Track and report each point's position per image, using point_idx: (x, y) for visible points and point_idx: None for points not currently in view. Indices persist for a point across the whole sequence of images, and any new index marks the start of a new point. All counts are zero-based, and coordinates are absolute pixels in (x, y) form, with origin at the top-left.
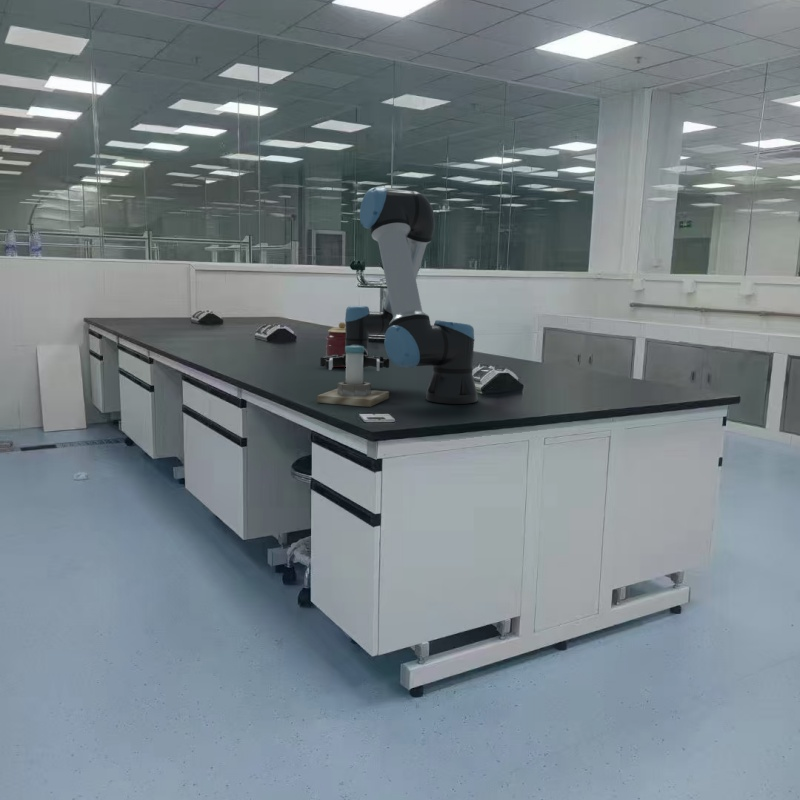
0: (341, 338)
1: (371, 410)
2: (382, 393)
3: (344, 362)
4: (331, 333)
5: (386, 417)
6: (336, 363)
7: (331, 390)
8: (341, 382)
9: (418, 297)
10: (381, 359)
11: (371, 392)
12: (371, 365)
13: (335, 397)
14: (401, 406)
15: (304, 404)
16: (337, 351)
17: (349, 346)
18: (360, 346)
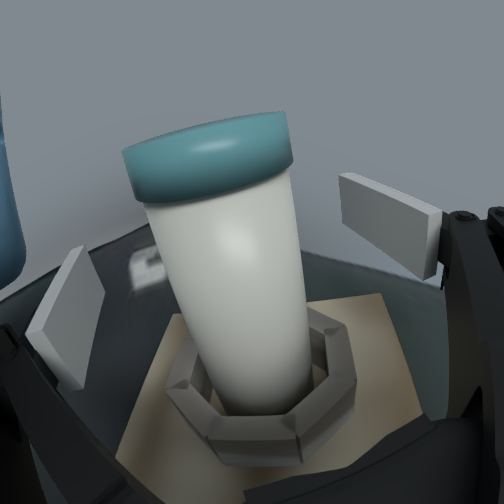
0: None
1: (174, 300)
2: (129, 441)
3: (454, 400)
4: None
5: (142, 267)
6: (451, 306)
7: (419, 405)
8: (338, 347)
9: None
10: (13, 343)
11: (185, 453)
12: (112, 456)
13: (306, 304)
14: (88, 368)
15: (387, 279)
16: None
17: (247, 117)
18: (152, 142)
